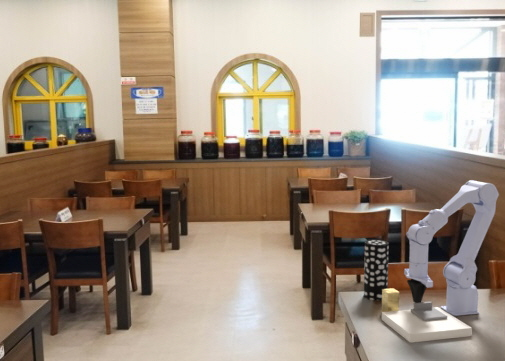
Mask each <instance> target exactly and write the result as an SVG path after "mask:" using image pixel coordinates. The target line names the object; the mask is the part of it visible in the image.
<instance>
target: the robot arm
mask: <svg viewBox="0 0 505 361" xmlns="http://www.w3.org/2000/svg"><path fill="white" fill-rule="evenodd" d="M499 196H500V193H499V191H498V189H497V187H496V185H495V184H493V183H490V182H483V181H479V180H478V181H477V180H475V179H474V180H473V179H471V180H468V181H466V182H465V183H464V184H463V185H462V186H461V187H460V189H459V191H458V192H457V193H456V194H455V195H454V196H452V198H450V199H449V200H448V201H447V202H446V203H445V204H444V205H443V207H441V208H440V209H439V208H438V209H437V208H435V209H431V210H430V211H429V212H428V214H427V215H426V216H425V217H424V218H423V219H422V220H421V219H420V220H419V221H418V222H417V223H415V224H414V223H413V224H412V225H411V226H410V227H409V228H408V231H407V232H406V237H407V239H408V240H409V257H408V258H409V260H408V262H409V263H408V264H409V266H408V268H404V271H403V272H404V273H403V274H404V275H405V278H407V280H406V283H407V284H408V287H409V289H410V294H411V296H412V302H413V303H420V302H423V301H422V300H423V298H424V295H425V292H426V290H427V288H434V280H432V279H431V277H430V276H429V275H428V271H429V268H428V266H429V244H430V243H431V242H432V241H433V237H434V235H435V234H436V233H437V232H438V231H439V230H441V229H442V228H443V227H444V226H445V225H447V223H448V221H449V217H450V216H451V215H453V214H455V213H456V212H457V211H459V209H461V208H462V207H464V206H465V205H466V204H472V205H473V207H474V211H475V213H474V215H473V218H472V219H471V222H470V225H469V227H468V229H467V231H466V233H465V236H464V237H463V241H462V243H461V245H460V248H459V250H458V252H457V254H456V255H453V256H452V257H450V259H449V261H448V262H447V263H446V264H445V265H444V267H443V269H442V274H443V277H444V279H446V280H445V281H446V298H445V299H446V303H445V305H441V306H440V309H442V310H444V311H445V312H447V313H448V314H450V315H452V316H453V317H456V316H465V315H476V314H480V311H478V309H479V308H478V307H479V306H478V305H479V291H478V288H477V286H476V285H474V284H475V282H476V275H477V274H476V273H477V271H478V267H477V264H476V261H475V260H476V258H477V256H478V253H479V251H480V248H481V246H482V245H483V241H484V239H485V238H486V235H487V232H488V230H489V228H490V226H491V223H492V221H493V218H494V216H495V214H496V206H497V204H496V203H497V200H498V197H499Z"/></svg>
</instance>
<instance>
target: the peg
mask: <svg viewBox="0 0 505 361" xmlns="http://www.w3.org/2000/svg"><path fill="white" fill-rule="evenodd" d="M399 307H400V291H398V290H397V289H395V288H391V287H390V288H388V289H382V300H381V313H382V312H390V311H400V310H399V309H400V308H399Z"/></svg>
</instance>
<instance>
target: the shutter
mask: <svg viewBox="0 0 505 361" xmlns="http://www.w3.org/2000/svg"><path fill="white" fill-rule="evenodd" d="M410 310H411V312H412V313H413V314H415V315H416V316H417V317H419V318H420V319H422V320H423V321H428V320H438V319H447V316H446V315H445V314H443V313H442V312H440V311H438V310H437V309H435V308H434V306H433V302H432V301H424V302H423V301H421V302H420V303H415V302H413V307H412V308H411V309H410Z"/></svg>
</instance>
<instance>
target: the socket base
mask: <svg viewBox="0 0 505 361" xmlns="http://www.w3.org/2000/svg"><path fill="white" fill-rule="evenodd" d="M433 307H434V306H433ZM434 308H435V309H437V310H438V311H440V312H442V313H443V314H445V315H446V316H447V319H438V320H428V321H423V320H422V319H420V318H419V317H417V316H416V315H415V314H413V313H412V312H411V309H402V310H399V311H390V312H382V311H381V321H383V322H384V323H385V324H386V325H388V327H390V328H391V329H392V330H394V331H395V332H396V333H397V334H399V335H400V336H401V337H403V338H404V339H405V340H406V341H407V342H408V343H418V342H427V341H436V340H437V341H438V340H446V339H456V338H465V337H472V336H473V332H472V331H473V330H472V329H473V327H471V325H468V324H466V323H465V322H463V321H462V320H460V319H458V318H456V316H453V315H452V314H450V313H448V312H447V311H445V310H443V309H442V308H441V307H438V306H435V307H434Z"/></svg>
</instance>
